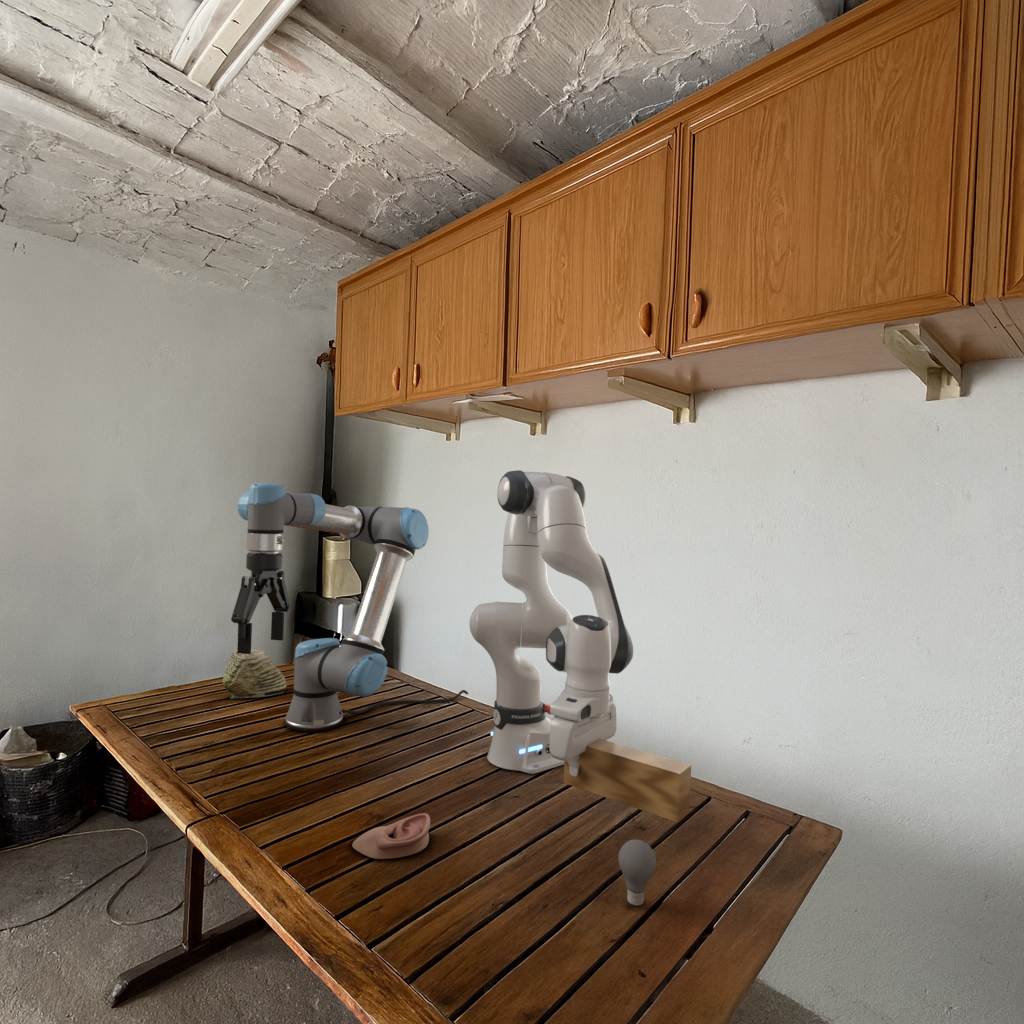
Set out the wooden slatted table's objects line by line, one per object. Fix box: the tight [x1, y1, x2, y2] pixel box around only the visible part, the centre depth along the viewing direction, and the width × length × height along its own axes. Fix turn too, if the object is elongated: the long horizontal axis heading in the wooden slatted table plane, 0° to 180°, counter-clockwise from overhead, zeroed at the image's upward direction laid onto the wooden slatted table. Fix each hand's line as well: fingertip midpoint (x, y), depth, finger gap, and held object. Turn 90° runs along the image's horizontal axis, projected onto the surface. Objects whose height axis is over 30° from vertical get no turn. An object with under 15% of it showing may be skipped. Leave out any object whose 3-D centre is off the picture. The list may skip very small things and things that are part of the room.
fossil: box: [222, 647, 288, 699], centre depth 198 cm, size 9×18×15 cm, turn 132°
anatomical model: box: [351, 812, 431, 860], centre depth 117 cm, size 13×4×12 cm
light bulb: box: [618, 838, 657, 906], centre depth 102 cm, size 6×6×10 cm
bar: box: [563, 739, 692, 823], centre depth 120 cm, size 24×5×8 cm, turn 53°
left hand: (261, 646), depth 142 cm, fingers open, 13 cm apart
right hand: (583, 769), depth 125 cm, fingers closed on bar, 5 cm apart
